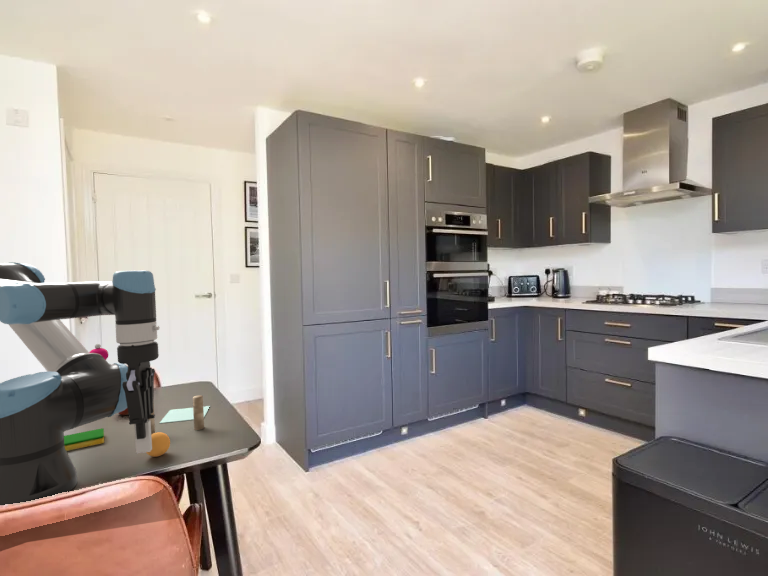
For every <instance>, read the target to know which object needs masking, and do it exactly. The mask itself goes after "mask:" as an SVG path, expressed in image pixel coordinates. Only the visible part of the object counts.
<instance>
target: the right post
mask: <svg viewBox="0 0 768 576" xmlns="http://www.w3.org/2000/svg"><path fill="white" fill-rule="evenodd" d="M203 407H204V396H203V395H199V394H198V395H195V396H193V397H192V408H193V415H194V420H193V429H194V431H200V430H203V429H205V417H204V411H203Z"/></svg>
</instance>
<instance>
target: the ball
mask: <svg viewBox="0 0 768 576" xmlns="http://www.w3.org/2000/svg"><path fill="white" fill-rule="evenodd" d="M151 438H152V450H151V451H150V452H145V453H146V454H147V455H148V456H150V457H157V458H158V457H160V456H162V455H164V454H166V453H167V452H168V450H169V448H170V446H171V439H170V437H169V435H168V434H167V433H165V432H161V431H159V432H155V433H153V434H151Z"/></svg>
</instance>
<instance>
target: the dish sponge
mask: <svg viewBox="0 0 768 576" xmlns="http://www.w3.org/2000/svg"><path fill="white" fill-rule="evenodd" d="M104 443H105V430H104V428H103V427H102V428H97V429H96V428H95V429H92V430H87V431H81V432H77V433H71V434H66V435H64V446H65V450H66V452H68V451H72V450H77V449H82V448H86V447H87V448H88V447H91V446H95V445H96V446H97V445H100V444H104Z"/></svg>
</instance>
